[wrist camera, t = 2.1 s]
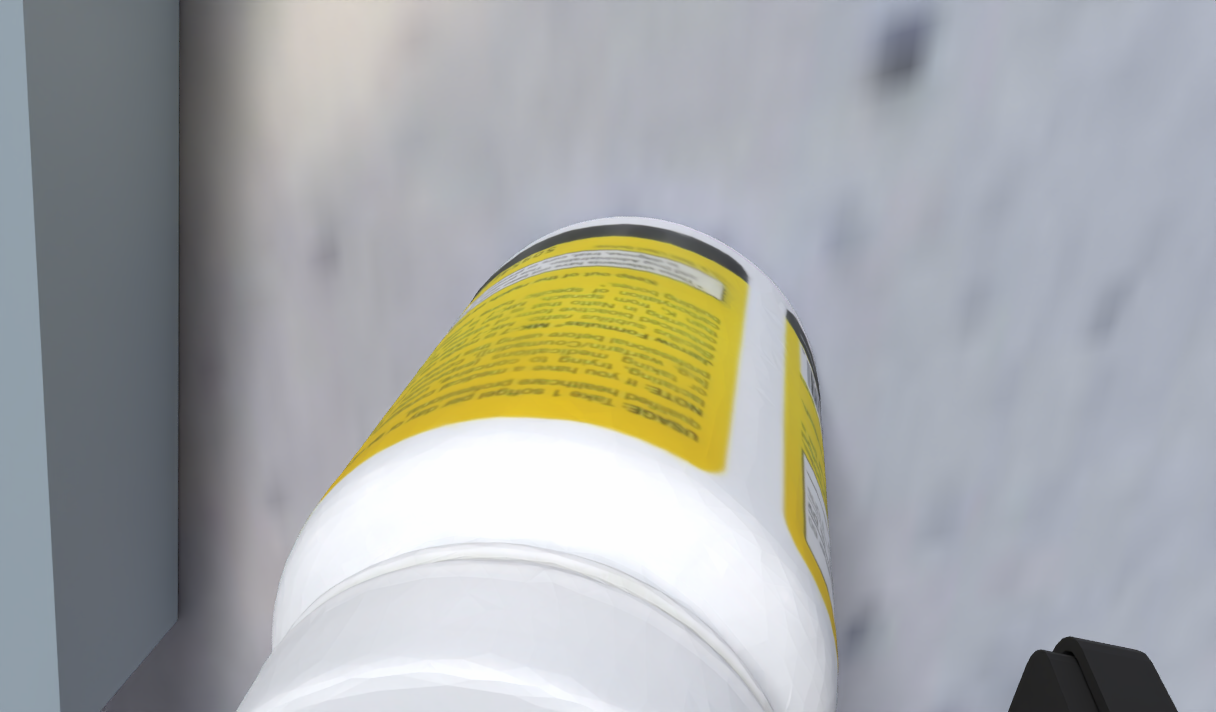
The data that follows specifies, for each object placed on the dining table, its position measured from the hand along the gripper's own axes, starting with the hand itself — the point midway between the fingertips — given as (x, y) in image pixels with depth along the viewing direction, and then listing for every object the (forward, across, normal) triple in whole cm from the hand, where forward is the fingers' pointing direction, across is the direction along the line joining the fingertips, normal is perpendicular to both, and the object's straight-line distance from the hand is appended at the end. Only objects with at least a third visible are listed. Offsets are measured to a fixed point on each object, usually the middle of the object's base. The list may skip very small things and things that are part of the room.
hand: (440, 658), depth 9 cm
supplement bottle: (+6, -1, 0) cm, 6 cm away
